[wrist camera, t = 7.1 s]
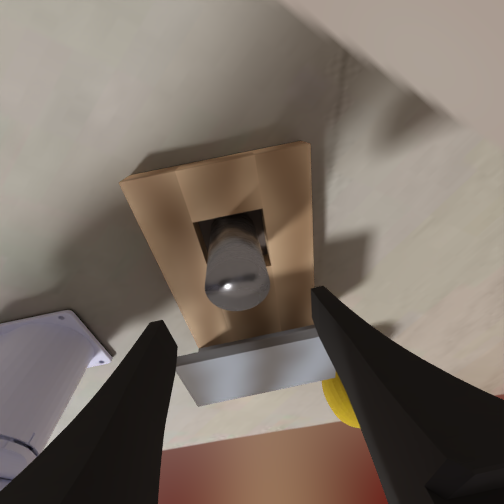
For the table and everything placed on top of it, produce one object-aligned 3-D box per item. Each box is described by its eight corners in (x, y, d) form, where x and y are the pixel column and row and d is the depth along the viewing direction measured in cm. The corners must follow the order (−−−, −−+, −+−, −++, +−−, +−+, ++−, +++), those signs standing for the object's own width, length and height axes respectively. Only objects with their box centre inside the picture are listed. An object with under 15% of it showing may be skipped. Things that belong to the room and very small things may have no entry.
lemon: (330, 340, 28) (365, 413, 21) (362, 350, 30) (403, 419, 23) (304, 366, 30) (329, 439, 23) (335, 373, 32) (366, 443, 25)
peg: (220, 255, 19) (218, 317, 13) (204, 218, 17) (193, 271, 11) (260, 243, 19) (276, 301, 13) (248, 204, 17) (261, 251, 11)
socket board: (203, 339, 25) (198, 406, 19) (129, 175, 15) (75, 211, 10) (309, 317, 25) (335, 377, 19) (300, 140, 16) (347, 155, 10)
